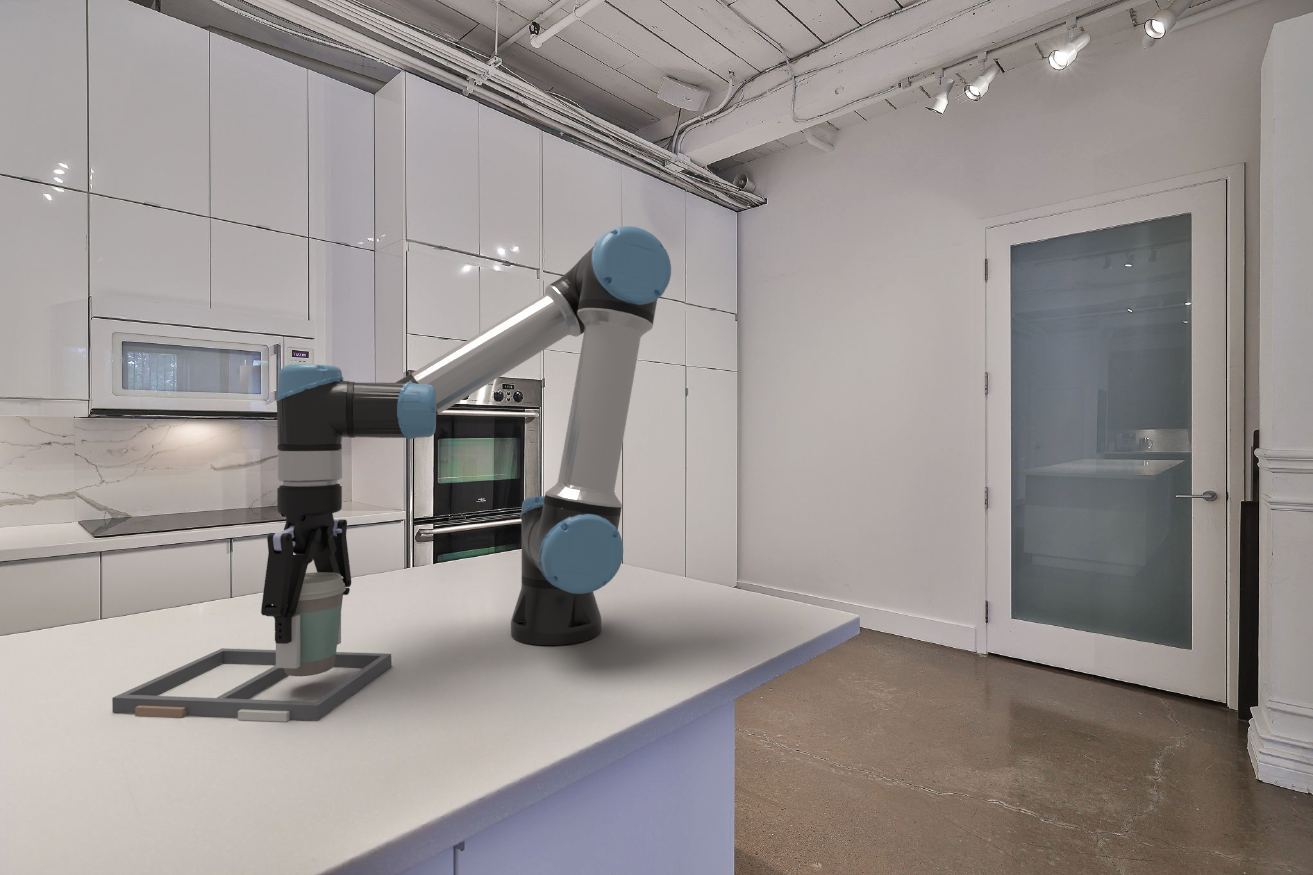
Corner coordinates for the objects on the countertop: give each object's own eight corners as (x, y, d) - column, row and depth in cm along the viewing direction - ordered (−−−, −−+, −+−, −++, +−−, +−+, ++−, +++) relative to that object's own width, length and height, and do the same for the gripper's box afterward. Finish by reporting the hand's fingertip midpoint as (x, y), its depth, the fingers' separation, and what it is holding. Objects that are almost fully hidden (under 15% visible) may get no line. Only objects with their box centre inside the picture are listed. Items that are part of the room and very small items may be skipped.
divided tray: (391, 666, 96) (391, 653, 96) (314, 722, 77) (314, 707, 77) (222, 660, 98) (221, 648, 98) (108, 714, 80) (107, 699, 80)
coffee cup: (360, 661, 90) (360, 573, 90) (308, 684, 82) (308, 587, 82) (311, 654, 93) (311, 569, 93) (256, 675, 85) (256, 582, 85)
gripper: (329, 476, 98) (329, 629, 98) (223, 489, 77) (224, 684, 77) (378, 477, 97) (378, 631, 98) (285, 490, 76) (285, 686, 76)
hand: (310, 654), depth 87 cm, fingers closed on coffee cup, 8 cm apart
